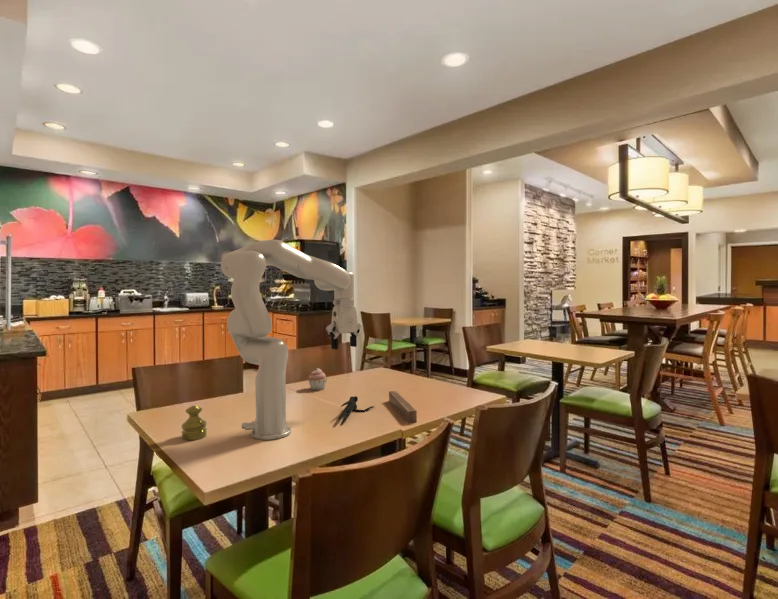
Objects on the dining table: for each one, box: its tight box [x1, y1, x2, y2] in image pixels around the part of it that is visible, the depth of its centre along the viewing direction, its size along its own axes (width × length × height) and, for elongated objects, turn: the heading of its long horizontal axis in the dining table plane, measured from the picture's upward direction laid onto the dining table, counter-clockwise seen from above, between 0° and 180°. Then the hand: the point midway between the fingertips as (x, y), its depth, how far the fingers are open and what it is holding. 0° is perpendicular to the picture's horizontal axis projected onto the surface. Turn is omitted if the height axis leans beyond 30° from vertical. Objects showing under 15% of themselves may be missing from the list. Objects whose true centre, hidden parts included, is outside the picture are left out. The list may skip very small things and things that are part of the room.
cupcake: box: [307, 367, 328, 391], centre depth 206 cm, size 9×9×10 cm
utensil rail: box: [388, 390, 418, 424], centre depth 170 cm, size 3×30×4 cm, turn 13°
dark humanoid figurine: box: [338, 395, 376, 427], centre depth 164 cm, size 8×9×25 cm
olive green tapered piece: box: [181, 404, 208, 441], centre depth 142 cm, size 7×7×10 cm
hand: (344, 347), depth 171 cm, fingers open, 9 cm apart
